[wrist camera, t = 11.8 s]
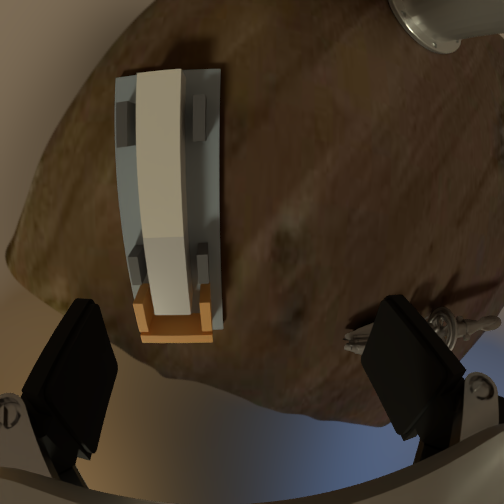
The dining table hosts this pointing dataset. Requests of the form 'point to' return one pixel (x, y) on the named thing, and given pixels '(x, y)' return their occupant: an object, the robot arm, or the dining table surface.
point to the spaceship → (451, 329)
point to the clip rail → (198, 210)
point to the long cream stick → (164, 188)
